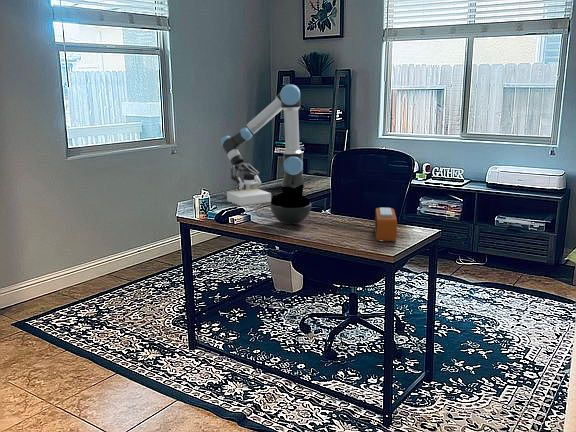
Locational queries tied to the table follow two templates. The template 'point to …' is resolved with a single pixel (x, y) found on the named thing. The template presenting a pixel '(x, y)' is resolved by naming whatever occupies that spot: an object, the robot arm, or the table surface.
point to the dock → (248, 197)
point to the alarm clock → (385, 224)
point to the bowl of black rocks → (290, 205)
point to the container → (249, 182)
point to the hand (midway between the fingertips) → (251, 186)
